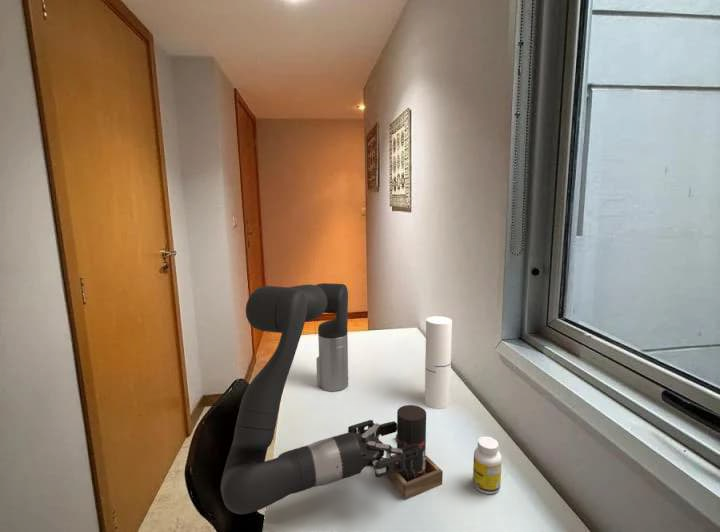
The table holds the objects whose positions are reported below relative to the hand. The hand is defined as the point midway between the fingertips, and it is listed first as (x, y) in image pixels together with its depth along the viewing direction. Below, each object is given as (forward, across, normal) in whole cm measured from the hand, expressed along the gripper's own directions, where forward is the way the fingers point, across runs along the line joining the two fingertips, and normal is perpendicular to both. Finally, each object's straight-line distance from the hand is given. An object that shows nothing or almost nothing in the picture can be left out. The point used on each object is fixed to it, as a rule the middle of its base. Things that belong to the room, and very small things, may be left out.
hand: (406, 436), depth 79 cm
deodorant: (+1, 0, +10) cm, 10 cm away
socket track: (+1, +4, +10) cm, 11 cm away
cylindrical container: (+25, +23, +10) cm, 36 cm away
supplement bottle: (+14, -8, +10) cm, 19 cm away
